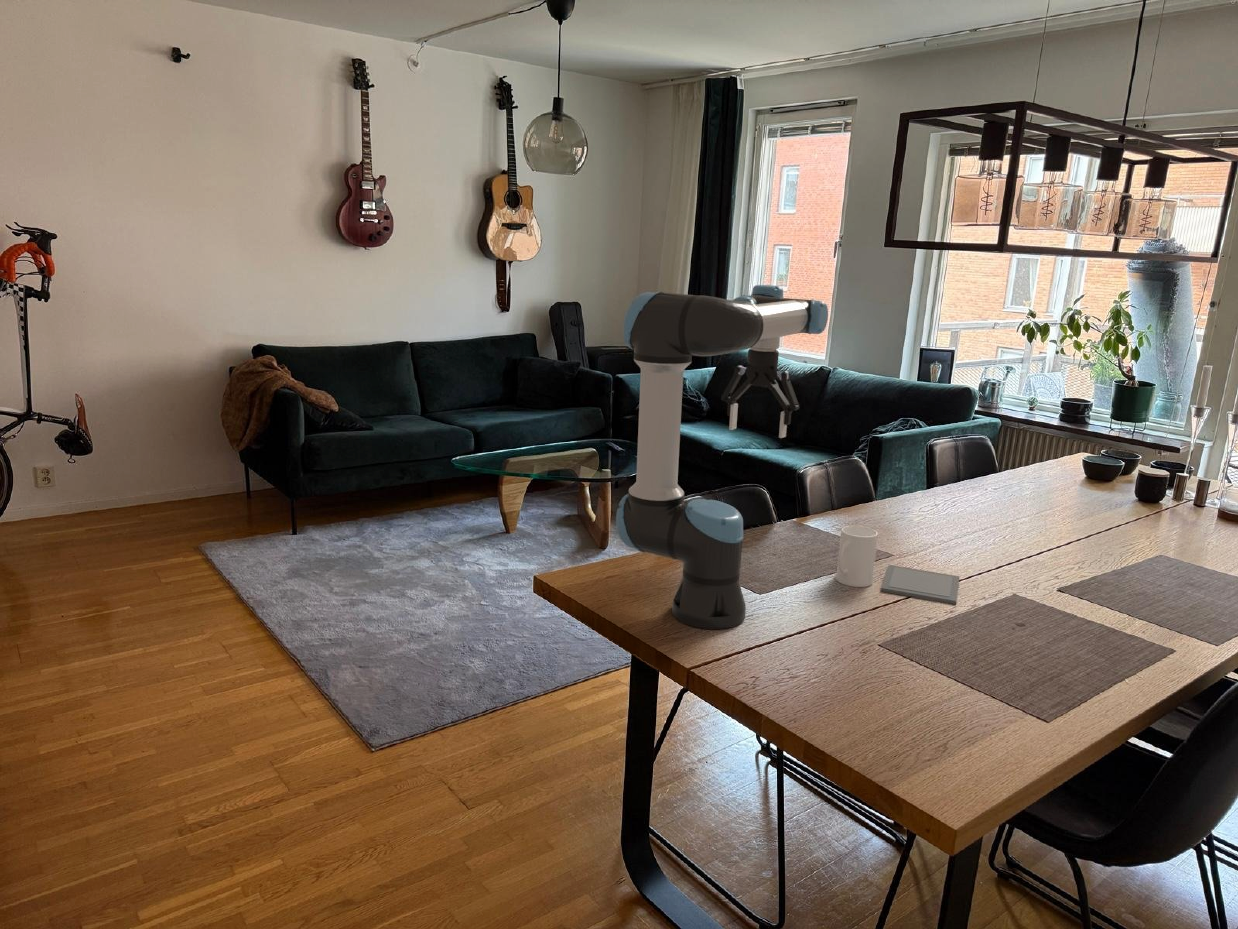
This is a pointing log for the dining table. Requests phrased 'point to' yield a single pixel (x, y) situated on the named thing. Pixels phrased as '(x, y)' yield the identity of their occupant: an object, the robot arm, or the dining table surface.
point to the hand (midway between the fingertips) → (757, 433)
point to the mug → (856, 556)
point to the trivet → (921, 584)
